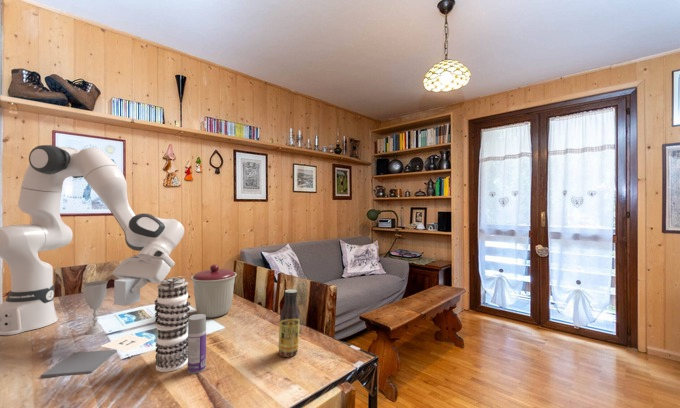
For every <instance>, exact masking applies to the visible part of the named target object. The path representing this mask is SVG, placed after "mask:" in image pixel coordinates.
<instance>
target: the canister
mask: <svg viewBox="0 0 680 408" xmlns="http://www.w3.org/2000/svg"><path fill="white" fill-rule="evenodd" d="M236 277H237V272H235V271H234V270H232V269H226V268H220V266H219V265H218V264H212V265H210V267H209V269H206V270H201V271H198V272H196V273H195V274H194V275H192V276H191V277H190V279H191V280H192V284H193V294H194V302H195V308H196V313H197V314H205V315H206V319H207V318H218V317H221V316H225V315H226V314H228V313H229V311H230V310H231V308H232V306H233V305H232V303H233V298H234V288H235V280H236Z"/></svg>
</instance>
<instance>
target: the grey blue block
mask: <svg viewBox="0 0 680 408" xmlns="http://www.w3.org/2000/svg"><path fill="white" fill-rule="evenodd" d="M139 280H140V278H135V277H126V278H122V279H118V278H117V279H115V280H114V286H113V287H114V288H113V293H114V294H113V298H114V299H113V301H114V302H113V305H115V306H121V307H127V306H130V305H133V304H135V303H138V302H140V301H141V288H140V289H139V290H138V292H137V293H132V292H131V291H130V289H131V288H132V286H135V285H136V284H138V283H139Z"/></svg>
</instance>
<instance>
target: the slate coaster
mask: <svg viewBox="0 0 680 408" xmlns="http://www.w3.org/2000/svg"><path fill="white" fill-rule="evenodd" d="M117 351H118V350H116V349H109V350H94V351H93V350H92V351H81V352H80V351H79V352H72V353H71V354H69V355H68V356H67V357H65V358H64V359H62V360H61V361H59V362H58V363H56V364H55V365H53V366H51V368H49V369H48V370H46V371H45V372H43V373H42V374H41V375H40V377H41V378H40V379H44V378H45V379H46V378H54V377H55V378H56V377H59V376H73V375H85V374H93V372H95V371H96V370H97V369H98V368H100V366H102V365H103V364H104V363H105V362H106V361H108V360H109V359H110V358H111V357H112V356H113V355H114V354H116V353H117Z"/></svg>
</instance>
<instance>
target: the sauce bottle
mask: <svg viewBox="0 0 680 408" xmlns="http://www.w3.org/2000/svg"><path fill="white" fill-rule="evenodd" d="M283 295H284V304H283V307H282V308H281V310H280V319H279V326H278V327H279V328H278V329H279V330H278V332H279V333H278V354H279V356H281V357H283V358H291V357H293V356H296V355H297V353H298V350H299V341H300V340H299V339H300V308H299V307H298V305H297V296H298V290H297V289H291V288H290V289H285V290H284V294H283Z"/></svg>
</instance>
